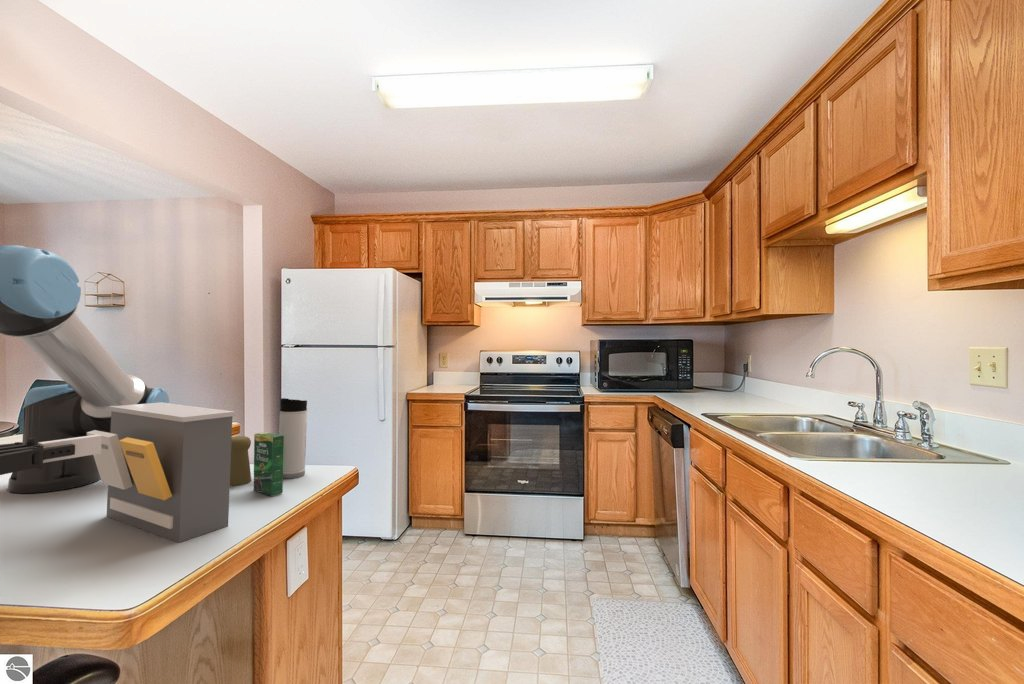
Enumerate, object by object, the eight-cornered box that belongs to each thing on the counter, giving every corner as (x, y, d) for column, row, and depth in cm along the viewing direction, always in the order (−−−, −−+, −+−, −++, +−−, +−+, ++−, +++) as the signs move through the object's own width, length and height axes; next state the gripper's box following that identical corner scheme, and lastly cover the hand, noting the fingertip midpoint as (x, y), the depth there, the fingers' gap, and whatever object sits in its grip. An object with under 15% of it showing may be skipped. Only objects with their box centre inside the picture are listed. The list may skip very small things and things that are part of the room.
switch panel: (177, 544, 72) (182, 417, 72) (103, 516, 82) (108, 406, 83) (230, 525, 80) (235, 411, 80) (156, 503, 90) (161, 402, 91)
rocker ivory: (122, 490, 77) (106, 437, 75) (100, 483, 80) (84, 433, 78) (132, 486, 78) (117, 434, 76) (110, 479, 82) (94, 429, 79)
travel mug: (270, 477, 110) (273, 397, 110) (291, 471, 116) (294, 395, 117) (289, 480, 108) (292, 399, 108) (310, 473, 114) (312, 397, 114)
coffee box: (251, 490, 100) (253, 432, 100) (264, 487, 102) (266, 430, 103) (270, 497, 95) (272, 437, 96) (283, 493, 98) (285, 435, 98)
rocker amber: (162, 501, 72) (142, 446, 69) (136, 493, 75) (117, 441, 73) (172, 496, 73) (153, 442, 71) (146, 488, 77) (127, 437, 74)
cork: (215, 484, 103) (217, 437, 104) (238, 477, 109) (240, 433, 109) (235, 487, 102) (237, 440, 102) (257, 480, 107) (259, 435, 108)
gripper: (-203, 511, 49) (78, 462, 70) (-177, 535, 43) (119, 474, 64) (-200, 443, 49) (79, 415, 70) (-174, 459, 43) (121, 423, 64)
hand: (98, 443), depth 67 cm, fingers closed
